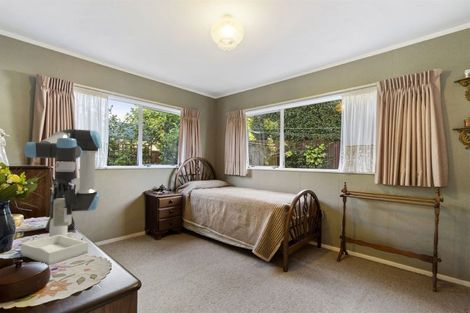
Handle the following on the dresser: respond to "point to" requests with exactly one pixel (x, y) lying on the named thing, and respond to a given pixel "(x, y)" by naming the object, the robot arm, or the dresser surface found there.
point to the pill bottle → (57, 229)
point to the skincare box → (59, 213)
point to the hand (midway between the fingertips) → (62, 220)
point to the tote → (54, 249)
